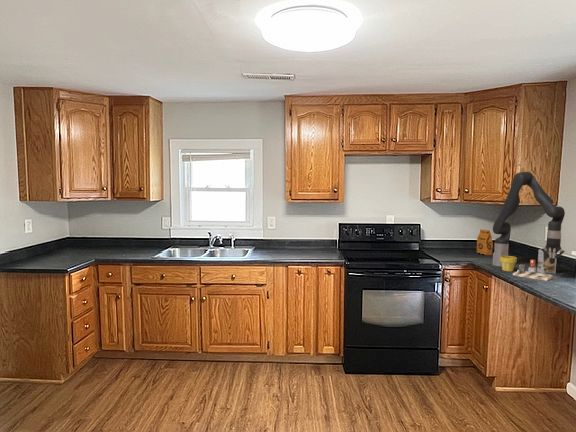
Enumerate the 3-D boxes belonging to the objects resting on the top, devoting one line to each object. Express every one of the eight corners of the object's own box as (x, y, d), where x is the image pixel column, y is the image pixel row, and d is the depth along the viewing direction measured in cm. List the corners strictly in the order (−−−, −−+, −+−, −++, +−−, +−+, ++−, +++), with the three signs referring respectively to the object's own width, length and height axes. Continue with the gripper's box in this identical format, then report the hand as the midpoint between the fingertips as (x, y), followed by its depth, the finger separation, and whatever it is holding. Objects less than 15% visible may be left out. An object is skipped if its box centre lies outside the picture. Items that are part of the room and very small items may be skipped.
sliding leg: (526, 273, 258) (526, 260, 258) (530, 272, 264) (530, 259, 263) (531, 274, 256) (532, 261, 255) (535, 273, 261) (536, 259, 260)
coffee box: (543, 273, 268) (544, 250, 267) (536, 271, 275) (538, 249, 274) (556, 273, 269) (557, 250, 267) (549, 271, 275) (550, 249, 274)
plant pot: (516, 272, 270) (517, 258, 270) (499, 271, 275) (500, 257, 275) (515, 270, 279) (516, 256, 279) (499, 268, 284) (500, 255, 284)
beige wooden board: (512, 275, 262) (513, 265, 262) (519, 272, 270) (519, 263, 270) (547, 280, 247) (547, 270, 247) (552, 278, 255) (553, 268, 255)
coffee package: (484, 255, 337) (485, 230, 336) (474, 253, 349) (475, 229, 348) (494, 255, 339) (495, 230, 337) (484, 253, 351) (485, 228, 350)
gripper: (540, 236, 253) (538, 262, 255) (564, 239, 243) (562, 266, 245) (543, 235, 258) (542, 261, 260) (567, 238, 248) (565, 264, 250)
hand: (552, 263), depth 252 cm, fingers closed
